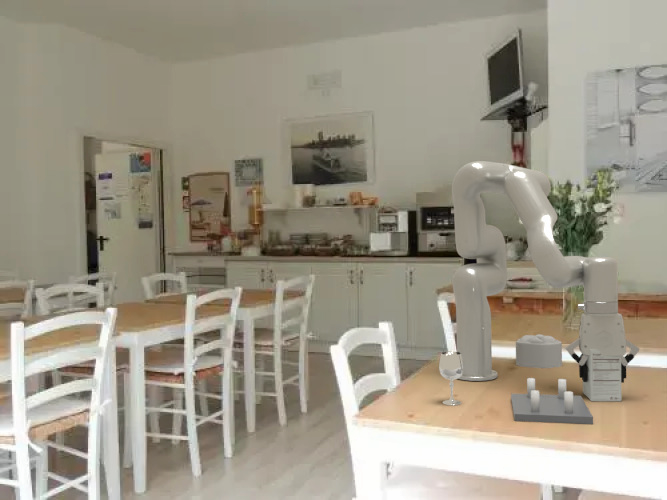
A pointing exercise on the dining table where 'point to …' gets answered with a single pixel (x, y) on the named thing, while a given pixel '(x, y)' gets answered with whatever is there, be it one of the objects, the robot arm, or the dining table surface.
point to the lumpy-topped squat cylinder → (538, 351)
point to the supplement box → (603, 377)
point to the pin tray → (550, 406)
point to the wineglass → (451, 371)
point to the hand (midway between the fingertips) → (602, 380)
